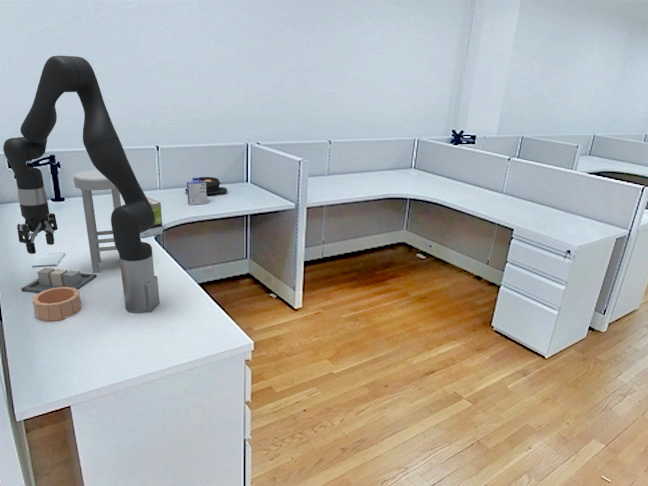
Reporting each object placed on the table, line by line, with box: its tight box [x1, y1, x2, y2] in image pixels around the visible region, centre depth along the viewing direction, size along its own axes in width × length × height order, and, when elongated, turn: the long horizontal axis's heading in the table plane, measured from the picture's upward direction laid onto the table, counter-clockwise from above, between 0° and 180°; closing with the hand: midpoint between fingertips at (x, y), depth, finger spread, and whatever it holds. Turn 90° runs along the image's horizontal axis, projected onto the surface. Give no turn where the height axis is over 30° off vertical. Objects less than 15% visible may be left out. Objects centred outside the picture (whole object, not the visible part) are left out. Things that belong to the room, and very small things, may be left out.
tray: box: [20, 272, 98, 294], centre depth 152 cm, size 16×15×1 cm
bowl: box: [32, 287, 82, 322], centre depth 135 cm, size 12×12×5 cm
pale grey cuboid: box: [36, 267, 56, 285], centre depth 151 cm, size 4×4×4 cm
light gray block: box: [63, 270, 82, 288], centre depth 150 cm, size 4×4×4 cm
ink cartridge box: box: [186, 177, 208, 206], centre depth 249 cm, size 10×6×14 cm, turn 118°
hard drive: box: [31, 251, 66, 268], centre depth 169 cm, size 2×8×12 cm
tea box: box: [140, 196, 163, 238], centre depth 202 cm, size 15×10×15 cm, turn 47°
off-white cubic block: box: [50, 268, 69, 287], centre depth 151 cm, size 4×4×4 cm
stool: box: [73, 169, 122, 274], centre depth 162 cm, size 16×16×35 cm
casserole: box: [184, 176, 228, 196], centre depth 273 cm, size 25×19×8 cm
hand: (41, 248), depth 148 cm, fingers open, 8 cm apart
